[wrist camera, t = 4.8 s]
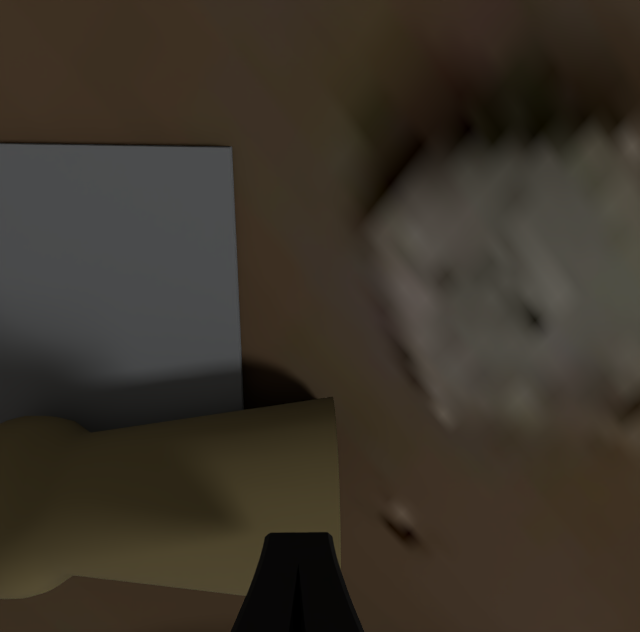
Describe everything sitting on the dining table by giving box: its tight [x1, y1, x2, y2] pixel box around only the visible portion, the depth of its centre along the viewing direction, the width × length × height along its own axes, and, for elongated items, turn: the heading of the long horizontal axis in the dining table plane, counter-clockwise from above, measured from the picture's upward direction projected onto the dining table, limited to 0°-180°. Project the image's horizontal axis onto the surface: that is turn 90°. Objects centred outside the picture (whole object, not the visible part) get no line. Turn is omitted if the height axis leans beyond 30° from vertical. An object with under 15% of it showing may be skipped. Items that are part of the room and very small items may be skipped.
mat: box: [0, 143, 244, 432], centre depth 17 cm, size 16×10×1 cm, turn 179°
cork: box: [0, 397, 341, 599], centre depth 16 cm, size 6×6×11 cm
